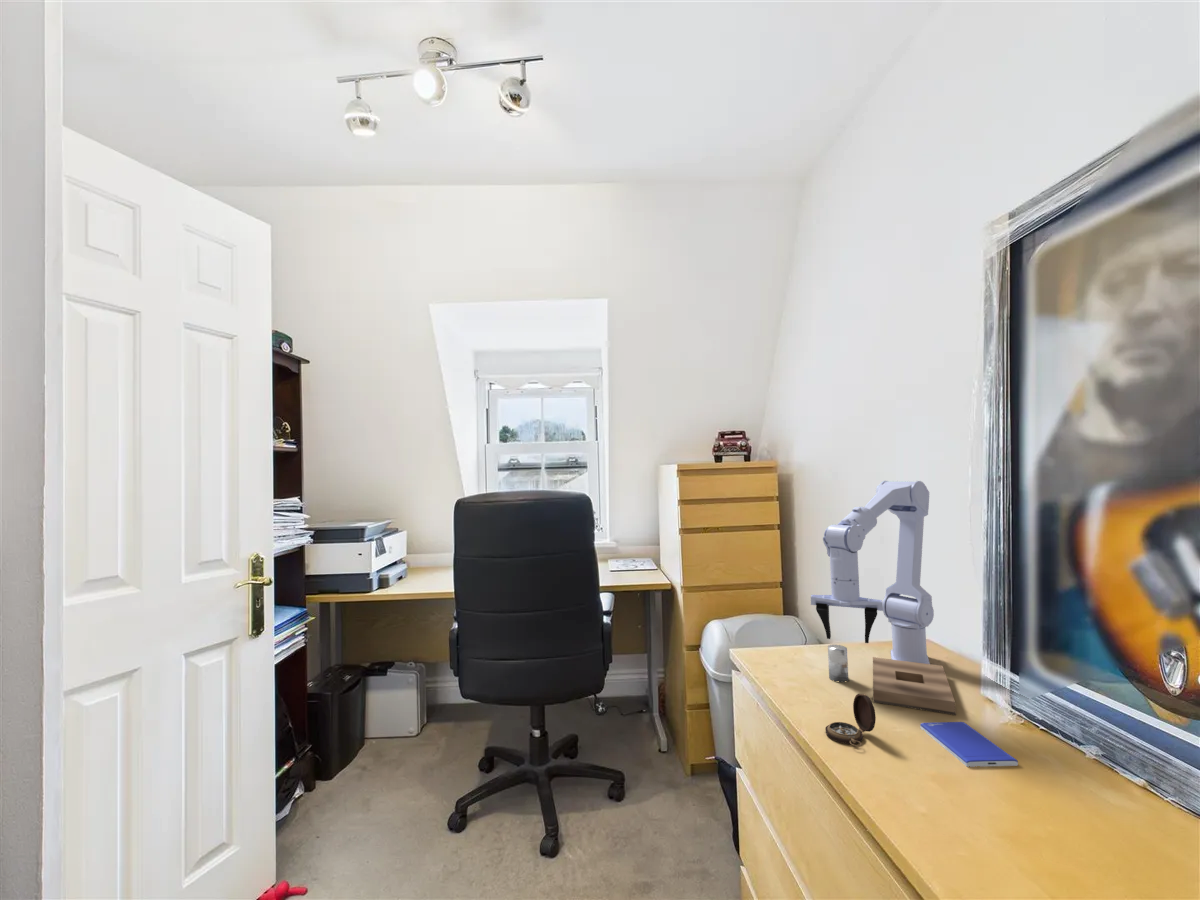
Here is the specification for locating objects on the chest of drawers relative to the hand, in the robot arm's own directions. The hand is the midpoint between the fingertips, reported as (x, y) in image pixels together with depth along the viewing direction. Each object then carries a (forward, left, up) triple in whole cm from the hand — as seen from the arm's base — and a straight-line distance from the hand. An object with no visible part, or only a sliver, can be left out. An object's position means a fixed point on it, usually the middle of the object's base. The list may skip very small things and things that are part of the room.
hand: (847, 639), depth 117 cm
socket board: (-1, +12, -10) cm, 15 cm away
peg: (-1, -2, -10) cm, 10 cm away
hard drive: (+21, +19, -10) cm, 30 cm away
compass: (+26, +1, -10) cm, 28 cm away
